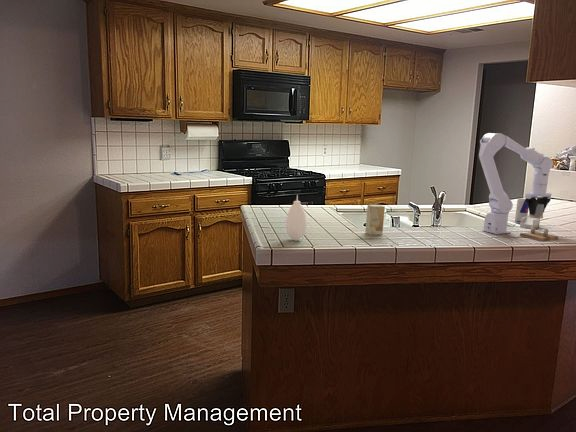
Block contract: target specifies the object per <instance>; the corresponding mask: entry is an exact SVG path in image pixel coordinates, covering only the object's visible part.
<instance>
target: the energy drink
mask: <svg viewBox="0 0 576 432" xmlns="http://www.w3.org/2000/svg"><path fill="white" fill-rule="evenodd" d="M515 208H516V209H515V218H514V222H516V224H519V223H520V224H521V218H523V217H526V216H529V207H528V204H527V202H526V198H525V197H523V198H522V197H519V198H517V201H516V207H515Z"/></svg>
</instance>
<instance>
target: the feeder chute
mask: <svg viewBox="0 0 576 432" xmlns="http://www.w3.org/2000/svg"><path fill="white" fill-rule="evenodd" d="M540 223H541V219H539V218H530V217H529V215H528V216H526V217H523V218H521V224H520V226H519V227H520V228H523V227H524V229H529V228H530V230H531V227H532V226H535V227H536V228H535V229H538V228H539V227H540Z"/></svg>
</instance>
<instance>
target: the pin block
mask: <svg viewBox="0 0 576 432" xmlns="http://www.w3.org/2000/svg"><path fill="white" fill-rule="evenodd" d="M536 229H537V228H536V227H535V226H532V227H531V229H530V232H520V233H519V237H523V238H526V239H530V240H534V241H539V242H544V241H554V240H558V239H559V236H558V235H554V234H549V229H547V228H544V229H543V232H541V231H536Z"/></svg>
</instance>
